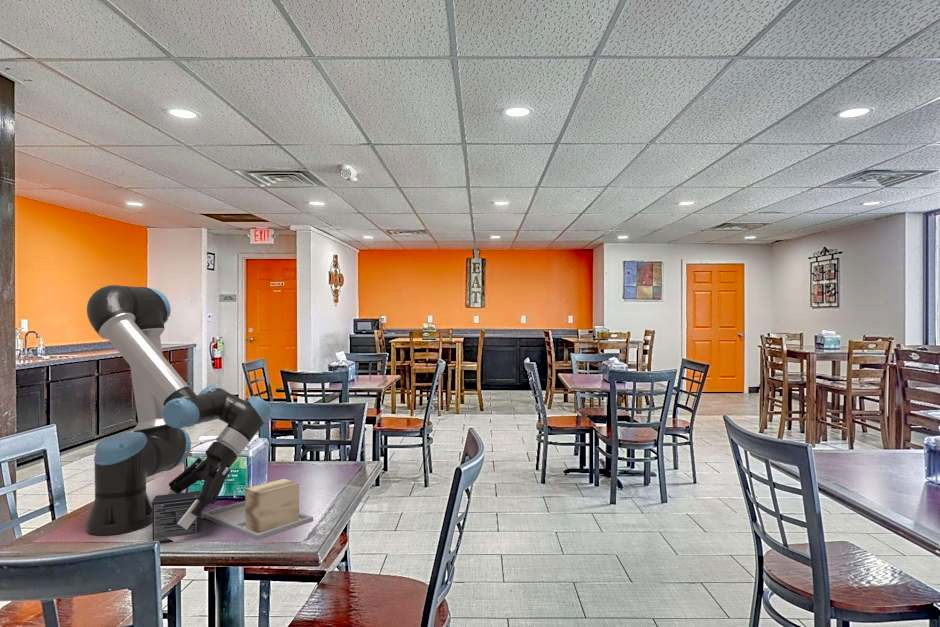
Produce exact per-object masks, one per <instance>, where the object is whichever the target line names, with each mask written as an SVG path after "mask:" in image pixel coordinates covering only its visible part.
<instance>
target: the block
mask: <svg viewBox="0 0 940 627" xmlns="http://www.w3.org/2000/svg"><path fill="white" fill-rule="evenodd" d="M244 491H245V492H244V498H245V500H244V501H245V528H247V529H249V530H252V531H254V532H257V533H261V532H264V531H267V530H271V529H274V528H277V527H280V526H283V525H286V524H289V523H292V522H295V521H298V520H299V512H300V483H299V482H297V481H293V480H289V479H286V478H281V479H276V480H273V481H268V482H264V483H260V484H257V485H253V486H249V487H246V488H245V490H244Z"/></svg>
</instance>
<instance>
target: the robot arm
mask: <svg viewBox="0 0 940 627" xmlns="http://www.w3.org/2000/svg"><path fill="white" fill-rule="evenodd" d="M86 304H87V305H86V315H87V319H88V321H89V323H90V325H91V327H92V328H93V330H94V331H95V333H97V335H98V336H99V337H100V338H101V339H104V340H109V342H110V343H111V345H112V346H113V347H114V349H115V350H116V351H117V353H119V354H120V355H121V356H122V358H123V359H124V361H126V362H127V364H128V365H129V366H130V374H131V382H132V386H133V388H132V389H133V395H134V400H135V401H134V402H135V407H136V414H137V415H136V416H137V421H138V422H137V424H136V426H135V427H134V428H133V431H131V432H123V433H118V434H113V435H110V436H107V437H105V438H103V439H101V440H100V441H99V442H97V444H96V446H95V452H94V453H95V454H94V458H93V461H94V462H93V463H94V501H93V504H92V507H91V509H90V513H89V515H88V518H87V521H86V532H87V533H88V534H90V535H97V536H112V535H120V534H125V533H130V532H134V531H137V530H140V529H143V528H145V527H148V526H149V525H151V524H152V502H150V498H149V496H148V493H147V478H149V477H152V476H155V475H157V474H160V473H163V472H167V471H171V470H173V469H174V468H177V467H179V466H180V465H182V464H183V463H184V462H185V461H186V459H187V458H188V457H189V454H190V452H191V447H192V441H191V438H190V435H189V433H188V432H186V430H185V429H184V428H190V427H192V426H196V425H199V424H202V423H203V424H204V423H208V422H210V421H211V422H212V421H214V420H220V421H221V422H224V423H225V424H227V425H226V426H225V427H224V428H223V430H222V431H221V432H220V433H219V435H218V436H217V437H216V439H215V441H213V442H212V443H211V445H210V446H209V447H208V448H207V450H205V455H206V458H205V459H202V458H200V457H198V458H196V459H195V461H194V462H193V463H192V464H191V465H190V466H188V467H187V468H185V470H184V471H183V472H181V473H180V474H179V475H177V476H176V477H175V478H174V479H173V480H172V481H169V483H168V487H169V491H168V492H167V493H166V494H165V495H167V494H176V493H183V491H185V490H186V489H188V488H189V487H191V486H192V485H194V484H195V483H197V482H201V481H203V485H202V487H201V490H200V491H201V495H200V496H199V497H197V499H199V500H200V501H199V500H197V499H196V500H195V502H194V503H193V504H192V505H191V507H190V508H189V509H188V510H187V512H186V513H185V514H184V516H183V517H182V518H181V519H180V521H179V522H178V523H177V524H179V525H180V526H182V527H183V528H185V529H186V530H187V529H188V528H189V526H190V525H191V524H192V523H193V521H194V520H195V519H196V517H197V516H198V515H199V514H200V512H201V513H202V512H203V510H204V508H205V507H206V506H210V505H215V503H216V502H217V499H218V498H219V495H220V492H221V490H222V488H223V486H224V484H225V481H226V478H227V477H228V476H229V474H230V473H231V469H230V468H231V467H232V465H233V464H234V463H235V462H236V460H237V459H238V456H239V455H241V454H242V452H243V451H244V450H245V449H246V447H247V446H248V444H249V443H251V440H252V439H253V438H254V437H255V436H256V434H258V432H259V431H260V430H261V429H262V427H263V425H265V424H266V422H267V420H268V419H269V417H270V416H271V414H272V412H273V409H272V407H271V405H270V404H269V403H268V402H267V401H266V400H264V399H263V398H262V397H259V396H255V395H252V396H250V397H249V398H247V400H245V399H243V398H240V397H238V396H236V395H234V394H232V393H230V392H229V391H227V390H225V389H223V388H221V387H218V386H216V385H212V384H211V385H207V386H206V387H205V388H202V389H201V391H200V392H199V393H198V394H196V392H195V391H194V390H193V389H191V387H190V386H189V385H188V383H187V382H185V380H184V379H183V377H182V376H181V375H180V374H179V373H178V372H177V370H176V369H175V368H174V367H173V365H171V363H170V362H169V361H168V359H166V358H165V356H164V355H163V349H162V348H163V347H162V342H161V335H162V334H163V333H164V332H165V330H166V329H165V324H166V323H167V322H168V320H169V317H170V316H171V304H170V302H169V300H168V298H167V296H166V295H165V294H164V293H163V292H161V291H160V290H158V289H156V288H151V287H147V286H128V285H116V284H111V285H105V286H103V287H100V288H99V289H97V290H96V291H95V292H93V293H92V295H91V296H90V297H89V299H88V300H87V303H86ZM186 451H188V452H186ZM185 452H186V453H185Z"/></svg>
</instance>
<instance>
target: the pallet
mask: <svg viewBox="0 0 940 627" xmlns="http://www.w3.org/2000/svg"><path fill="white" fill-rule="evenodd" d="M201 519H206V520H208V521H211V522H213V523H216V524H219V525H220V526H222V527H225V528H227V529H230V530H232V531H234V532H237V533H239V534H242V535H245V536H247V537H249V538H251V539H254V540H257V541H258V540H262V539H264V538H267V537H270V536H273V535H277V534H279V533H281V532H286V531H287V530H290V529H293V528H296V527H300V526H303V525H306V524H308V523H312V522H314V517H313V516H311V515H308V514H305V513H302V512H300V511H299V520H298V521H295V522H292V523H289V524H286V525H283V526H280V527H277V528H274V529H271V530H267V531H264V532H261V533H257V532H254V531H252V530H249V529H247V528H245V500H243V501H239V502H236V503H232V504H228V505H225V506H221V507H218V508H213V509H210V510H207V511H201Z"/></svg>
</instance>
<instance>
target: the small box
mask: <svg viewBox="0 0 940 627" xmlns="http://www.w3.org/2000/svg"><path fill="white" fill-rule="evenodd" d="M201 491H202V490H196V491H188V492H187V491H186V492H180V493H176V494H167V493H166V494H167V495H166V494H160V495H155V497H154V498H153V499H152V502H151V506H152V523H151V524H152V527H151V528H152V531H151V532H152V534H151V536H152V541H159V542H160V543H161V544H160V545H162V543H164V544H169V543H170V542H171V543H175V541H174V540H172V539H170V538H171V537H178V536H179V537H180V536H187V535H193V534H194V535H195V534H200V532H201V527H202V518H201V513H202V511H201V512H200V514H199V515H198V516H197V517H196V519H195V520H194V521H193V523H192V524H191V525H190V526H189V528H188V529H187V530H186V529H185V528H183V527H182V526H180V525H179V524H177V523H178V522H179V521H180V519H181V518H182V517H183V516H184V514H185V513H186V512H187V510H188V509H189V508H190V507H191V505H192V504H193V503H194V502H195V500H196V499H197V497H199V496H200V495H201ZM197 500H199V499H197ZM199 501H200V500H199Z"/></svg>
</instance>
